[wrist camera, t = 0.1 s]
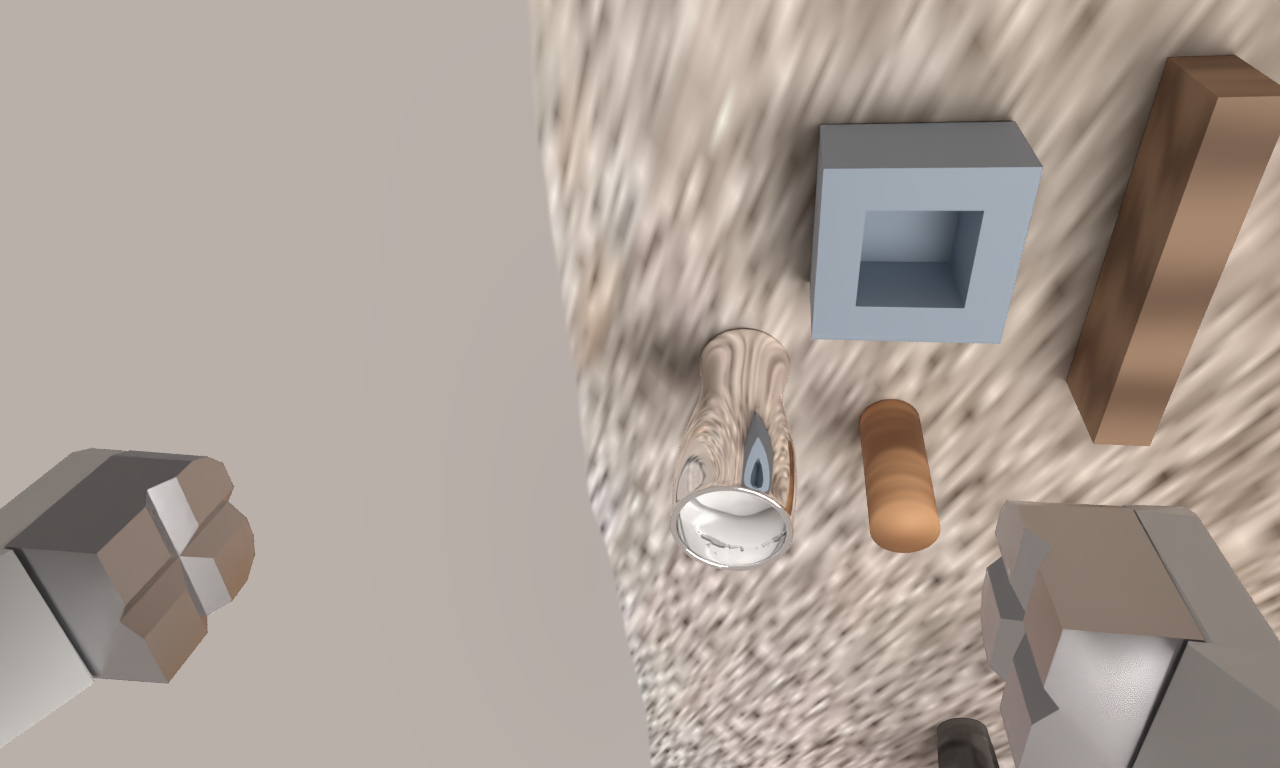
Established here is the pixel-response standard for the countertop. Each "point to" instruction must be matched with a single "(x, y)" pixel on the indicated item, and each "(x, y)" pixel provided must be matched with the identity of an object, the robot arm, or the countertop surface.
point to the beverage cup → (965, 745)
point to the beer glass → (737, 457)
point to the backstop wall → (1172, 240)
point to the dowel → (897, 478)
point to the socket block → (919, 230)
